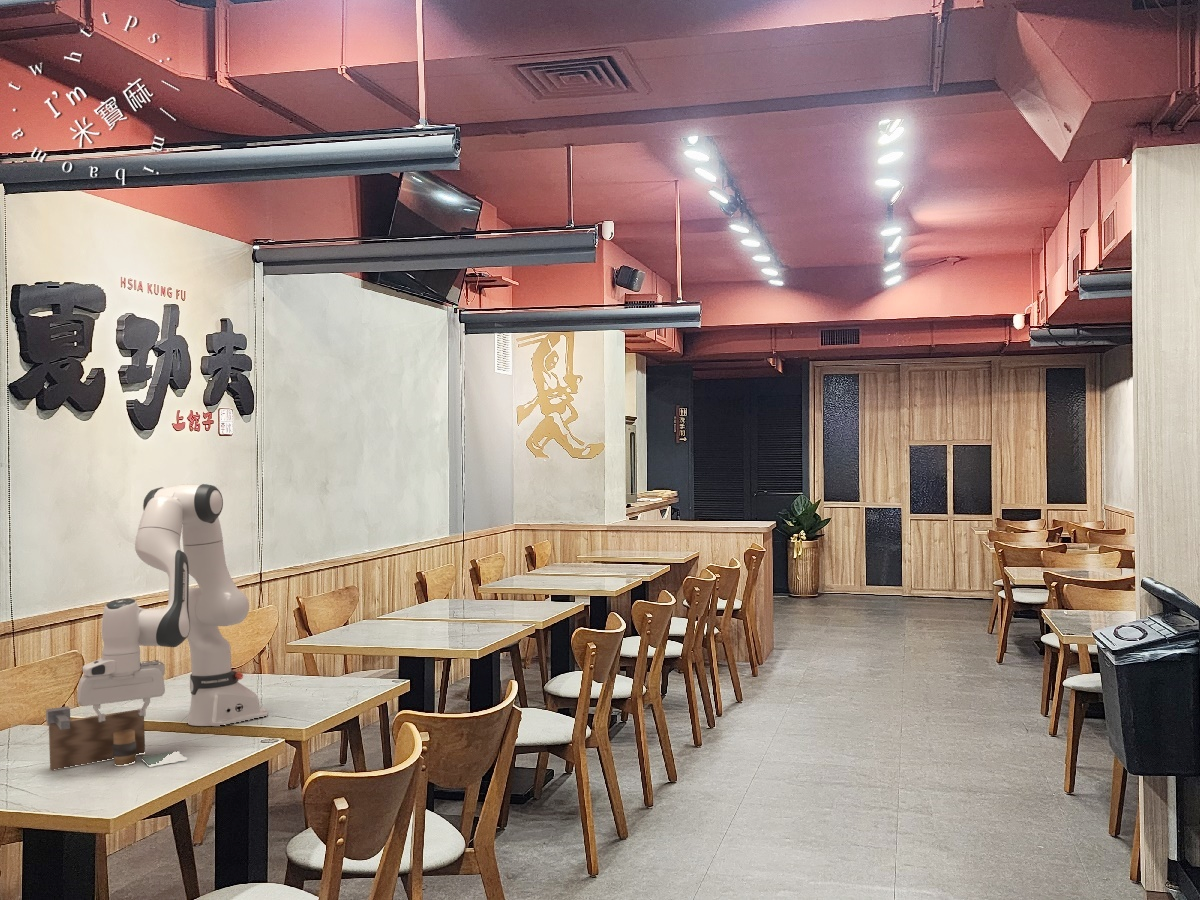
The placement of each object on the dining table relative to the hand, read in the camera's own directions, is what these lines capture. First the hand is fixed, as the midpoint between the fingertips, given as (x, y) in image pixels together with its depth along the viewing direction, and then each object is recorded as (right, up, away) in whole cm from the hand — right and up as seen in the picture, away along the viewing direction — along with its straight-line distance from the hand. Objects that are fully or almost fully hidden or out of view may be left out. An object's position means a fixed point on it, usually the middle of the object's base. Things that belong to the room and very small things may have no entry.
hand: (122, 718), depth 268 cm
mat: (+10, -11, +2) cm, 15 cm away
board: (-8, -12, +3) cm, 14 cm away
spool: (+1, -11, 0) cm, 11 cm away
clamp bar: (-12, 0, -6) cm, 14 cm away
